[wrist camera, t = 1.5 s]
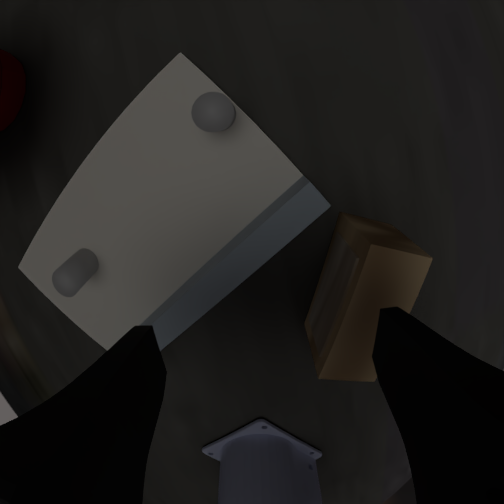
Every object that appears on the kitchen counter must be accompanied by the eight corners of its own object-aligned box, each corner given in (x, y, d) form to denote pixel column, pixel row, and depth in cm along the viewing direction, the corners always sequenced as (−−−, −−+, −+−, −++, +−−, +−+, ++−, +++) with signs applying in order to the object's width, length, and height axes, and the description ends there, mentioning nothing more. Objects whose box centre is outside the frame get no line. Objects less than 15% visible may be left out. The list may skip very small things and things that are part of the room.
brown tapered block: (390, 224, 19) (432, 258, 14) (351, 329, 22) (374, 381, 17) (336, 210, 19) (368, 243, 14) (301, 322, 22) (315, 378, 17)
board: (318, 193, 18) (335, 211, 14) (130, 357, 23) (115, 393, 19) (183, 56, 15) (166, 38, 11) (25, 261, 20) (-6, 286, 16)
